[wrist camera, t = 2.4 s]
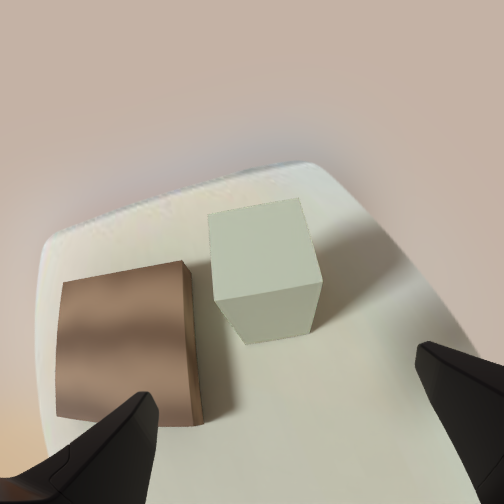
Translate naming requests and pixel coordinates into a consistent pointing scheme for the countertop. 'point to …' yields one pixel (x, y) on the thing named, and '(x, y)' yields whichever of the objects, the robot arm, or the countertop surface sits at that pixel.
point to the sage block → (265, 270)
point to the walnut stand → (128, 345)
